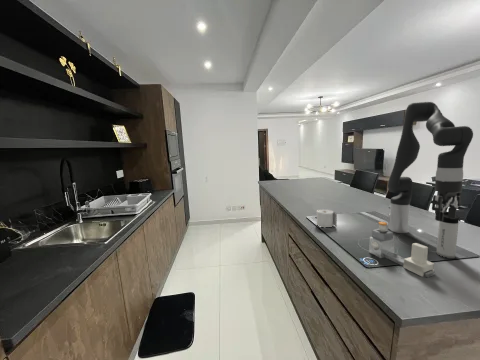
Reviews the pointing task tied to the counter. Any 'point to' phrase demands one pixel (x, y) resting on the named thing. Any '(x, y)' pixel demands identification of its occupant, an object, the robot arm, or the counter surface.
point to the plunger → (382, 227)
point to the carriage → (418, 260)
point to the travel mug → (447, 236)
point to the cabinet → (381, 243)
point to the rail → (400, 261)
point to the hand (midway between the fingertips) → (445, 219)
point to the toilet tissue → (326, 218)
